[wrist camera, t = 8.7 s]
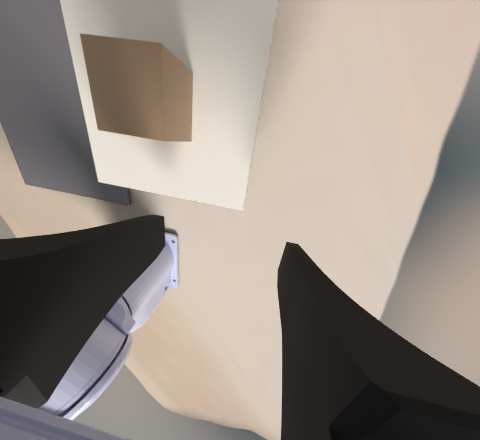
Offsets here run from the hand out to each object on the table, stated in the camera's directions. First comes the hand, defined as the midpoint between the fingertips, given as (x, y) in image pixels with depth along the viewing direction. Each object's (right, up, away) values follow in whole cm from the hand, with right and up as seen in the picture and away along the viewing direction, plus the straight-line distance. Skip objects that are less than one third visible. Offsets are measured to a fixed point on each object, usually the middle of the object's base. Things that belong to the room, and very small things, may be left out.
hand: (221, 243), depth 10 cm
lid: (-4, +10, +3) cm, 11 cm away
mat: (-19, +13, +9) cm, 25 cm away
